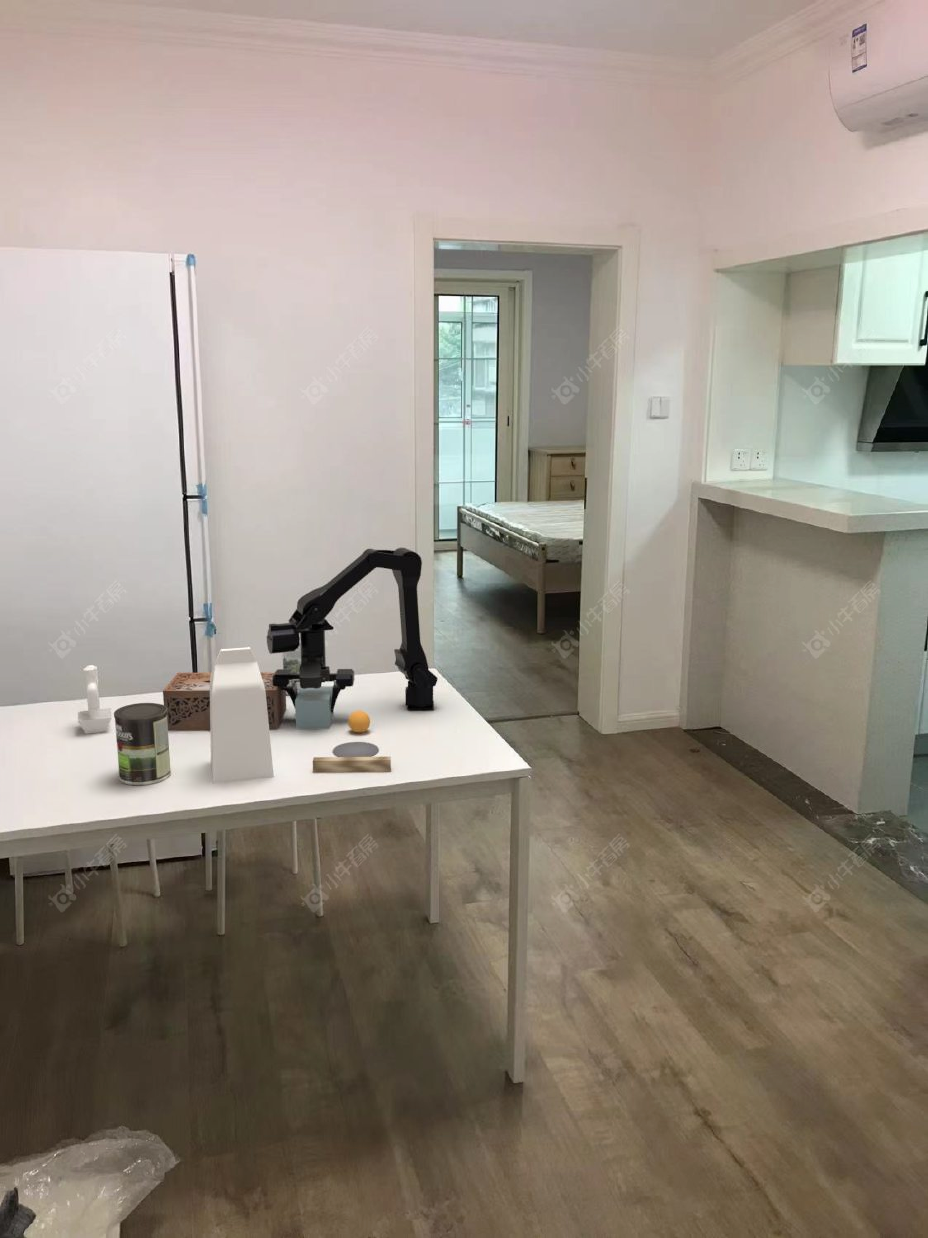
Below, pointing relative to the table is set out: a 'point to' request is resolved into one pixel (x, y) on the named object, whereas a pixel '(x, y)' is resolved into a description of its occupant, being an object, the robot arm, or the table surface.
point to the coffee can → (142, 743)
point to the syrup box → (293, 663)
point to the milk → (238, 718)
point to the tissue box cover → (192, 702)
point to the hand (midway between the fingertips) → (315, 712)
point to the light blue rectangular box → (314, 708)
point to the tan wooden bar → (351, 764)
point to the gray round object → (355, 749)
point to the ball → (359, 721)
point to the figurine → (93, 705)
